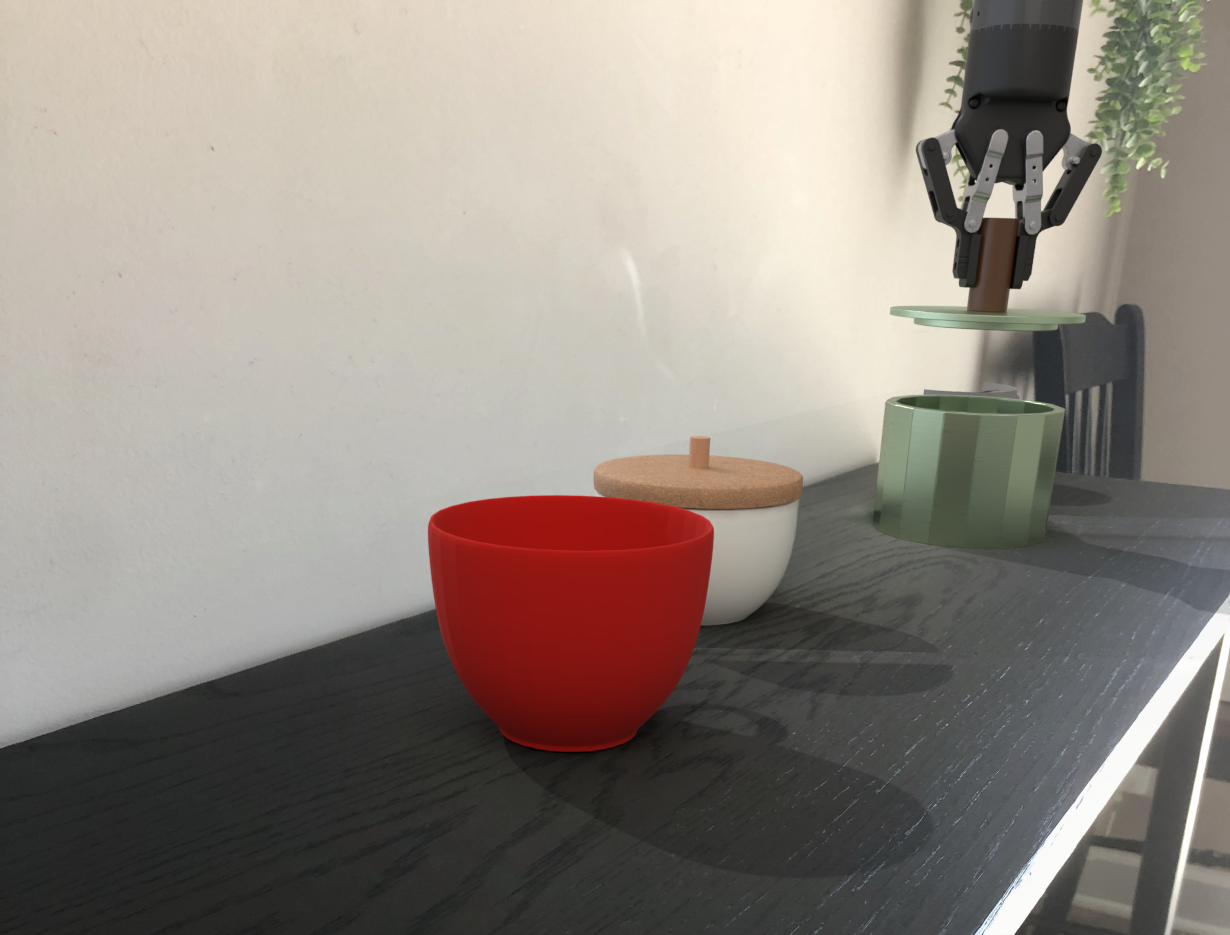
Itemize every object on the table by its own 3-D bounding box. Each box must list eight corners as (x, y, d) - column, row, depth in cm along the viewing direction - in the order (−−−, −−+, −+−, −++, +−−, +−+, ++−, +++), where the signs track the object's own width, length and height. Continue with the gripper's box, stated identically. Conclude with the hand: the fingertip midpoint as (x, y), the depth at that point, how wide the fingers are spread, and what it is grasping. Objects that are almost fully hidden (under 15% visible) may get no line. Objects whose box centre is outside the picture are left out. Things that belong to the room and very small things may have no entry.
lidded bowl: (799, 650, 78) (816, 456, 73) (584, 641, 78) (588, 448, 74) (783, 597, 89) (797, 426, 85) (596, 590, 90) (600, 420, 85)
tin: (1014, 522, 116) (1032, 396, 111) (1066, 557, 103) (1089, 417, 99) (858, 519, 115) (871, 392, 111) (892, 553, 103) (908, 412, 99)
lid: (1047, 323, 110) (1062, 222, 106) (1112, 335, 96) (1132, 220, 93) (871, 318, 109) (881, 216, 106) (912, 329, 96) (925, 213, 93)
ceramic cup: (736, 679, 72) (748, 492, 68) (672, 793, 57) (683, 562, 53) (508, 656, 75) (508, 475, 71) (390, 759, 60) (380, 537, 56)
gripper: (939, 15, 91) (909, 287, 98) (1142, 22, 91) (1098, 292, 98) (914, 30, 98) (888, 283, 105) (1102, 37, 98) (1064, 289, 105)
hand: (990, 286), depth 101 cm, fingers closed on lid, 3 cm apart
